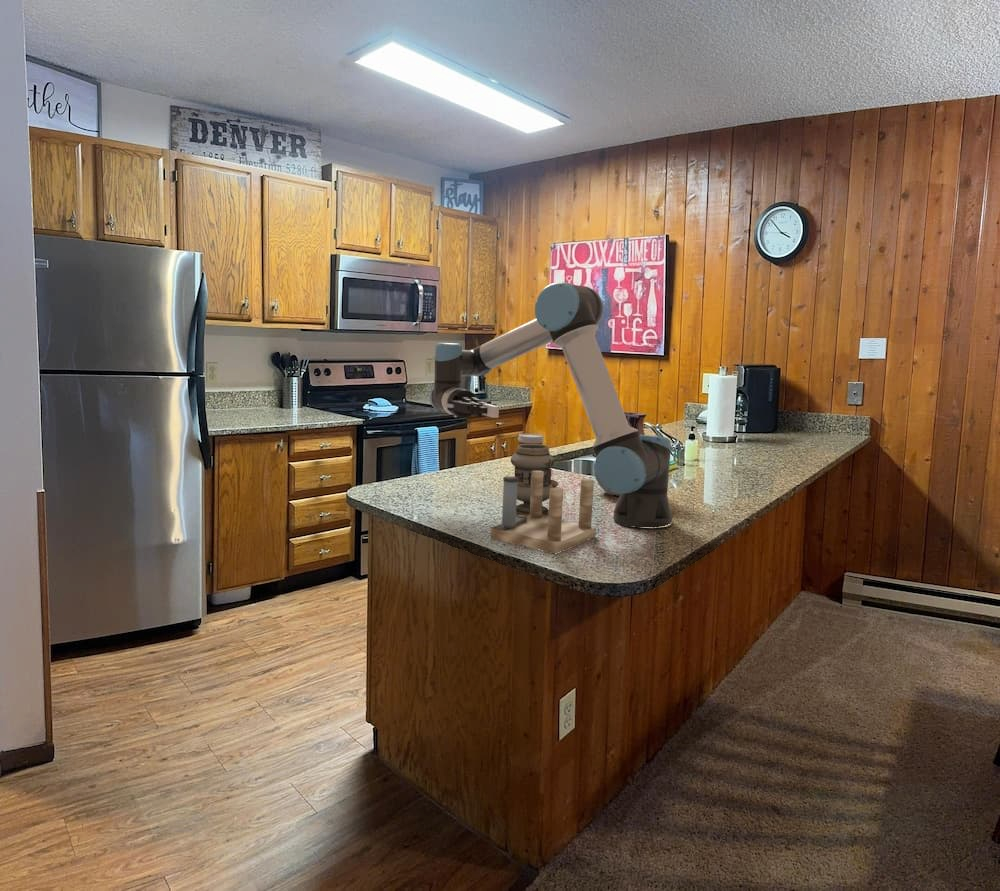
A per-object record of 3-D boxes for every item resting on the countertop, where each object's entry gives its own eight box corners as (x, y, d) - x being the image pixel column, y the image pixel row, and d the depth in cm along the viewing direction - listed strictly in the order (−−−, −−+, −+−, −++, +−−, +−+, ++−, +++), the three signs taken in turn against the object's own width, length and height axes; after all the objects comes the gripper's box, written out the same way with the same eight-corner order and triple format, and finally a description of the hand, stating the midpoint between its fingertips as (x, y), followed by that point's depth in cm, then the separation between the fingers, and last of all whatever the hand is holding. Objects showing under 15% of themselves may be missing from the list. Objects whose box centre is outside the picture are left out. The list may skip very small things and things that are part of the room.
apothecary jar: (501, 506, 197) (504, 442, 194) (540, 504, 201) (543, 441, 199) (519, 517, 186) (522, 449, 183) (560, 514, 190) (564, 448, 188)
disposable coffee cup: (548, 468, 256) (549, 436, 254) (530, 471, 249) (532, 438, 247) (528, 464, 262) (529, 432, 260) (510, 467, 255) (512, 434, 253)
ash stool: (595, 537, 170) (599, 480, 168) (556, 554, 156) (559, 491, 154) (532, 523, 180) (535, 469, 178) (490, 538, 166) (492, 479, 164)
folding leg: (517, 517, 174) (519, 470, 172) (530, 519, 173) (532, 472, 171) (498, 528, 164) (500, 478, 163) (512, 530, 163) (514, 480, 161)
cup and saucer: (521, 483, 230) (522, 464, 229) (558, 485, 229) (559, 466, 228) (518, 490, 218) (519, 471, 218) (557, 493, 217) (558, 473, 216)
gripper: (481, 416, 194) (519, 427, 173) (436, 416, 189) (470, 428, 167) (482, 388, 193) (520, 396, 172) (437, 388, 187) (471, 396, 166)
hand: (495, 412), depth 170 cm, fingers closed
